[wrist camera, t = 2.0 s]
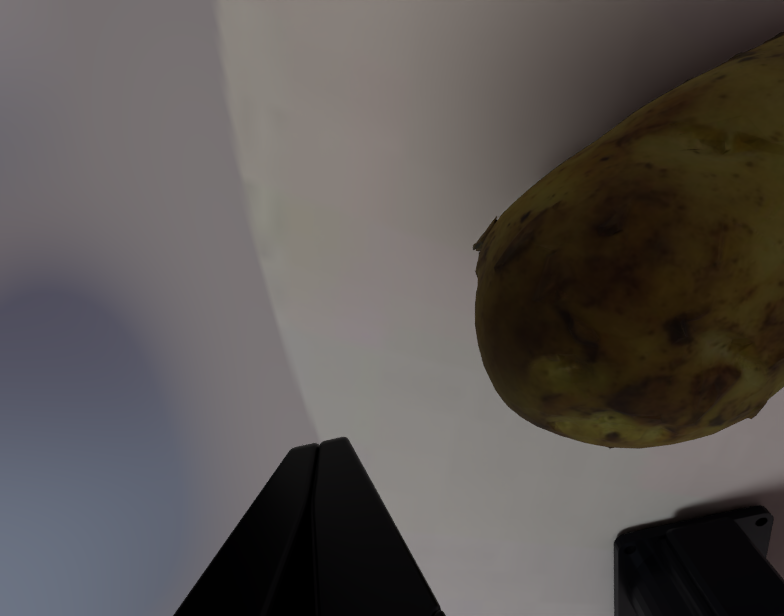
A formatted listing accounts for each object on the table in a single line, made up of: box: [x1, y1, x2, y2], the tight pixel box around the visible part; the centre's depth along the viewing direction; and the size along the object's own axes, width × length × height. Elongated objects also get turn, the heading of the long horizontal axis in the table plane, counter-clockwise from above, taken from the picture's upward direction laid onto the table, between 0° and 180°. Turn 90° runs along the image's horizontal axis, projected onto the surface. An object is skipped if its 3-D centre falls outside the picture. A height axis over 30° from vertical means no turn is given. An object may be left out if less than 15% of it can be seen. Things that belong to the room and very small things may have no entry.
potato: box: [473, 32, 784, 448], centre depth 12 cm, size 8×13×8 cm, turn 98°
